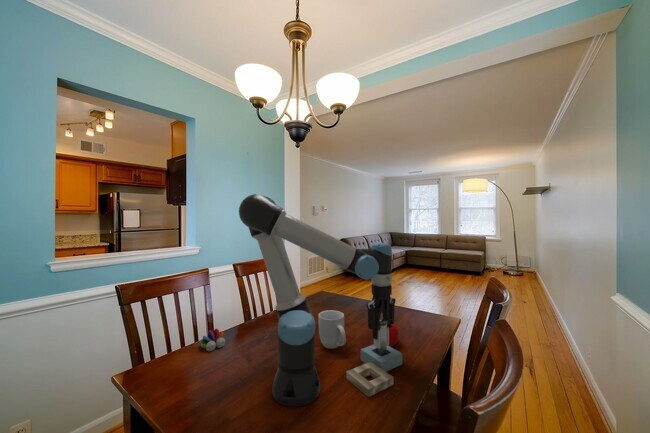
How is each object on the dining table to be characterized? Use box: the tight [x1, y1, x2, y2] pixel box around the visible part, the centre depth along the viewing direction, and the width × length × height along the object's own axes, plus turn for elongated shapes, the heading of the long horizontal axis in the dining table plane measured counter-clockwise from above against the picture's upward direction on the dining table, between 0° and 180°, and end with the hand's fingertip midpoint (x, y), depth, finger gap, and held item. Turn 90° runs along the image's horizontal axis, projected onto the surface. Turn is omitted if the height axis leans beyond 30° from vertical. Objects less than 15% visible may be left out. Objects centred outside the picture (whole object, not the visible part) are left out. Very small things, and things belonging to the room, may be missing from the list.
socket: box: [359, 344, 403, 373], centre depth 101 cm, size 11×11×4 cm
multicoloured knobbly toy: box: [199, 328, 226, 352], centre depth 112 cm, size 8×10×7 cm
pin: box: [376, 317, 388, 357], centre depth 101 cm, size 5×5×14 cm
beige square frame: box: [345, 362, 394, 398], centre depth 89 cm, size 11×11×2 cm
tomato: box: [370, 323, 399, 348], centre depth 115 cm, size 12×12×10 cm
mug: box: [317, 309, 347, 350], centre depth 112 cm, size 15×11×13 cm
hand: (381, 345), depth 101 cm, fingers closed on pin, 4 cm apart
